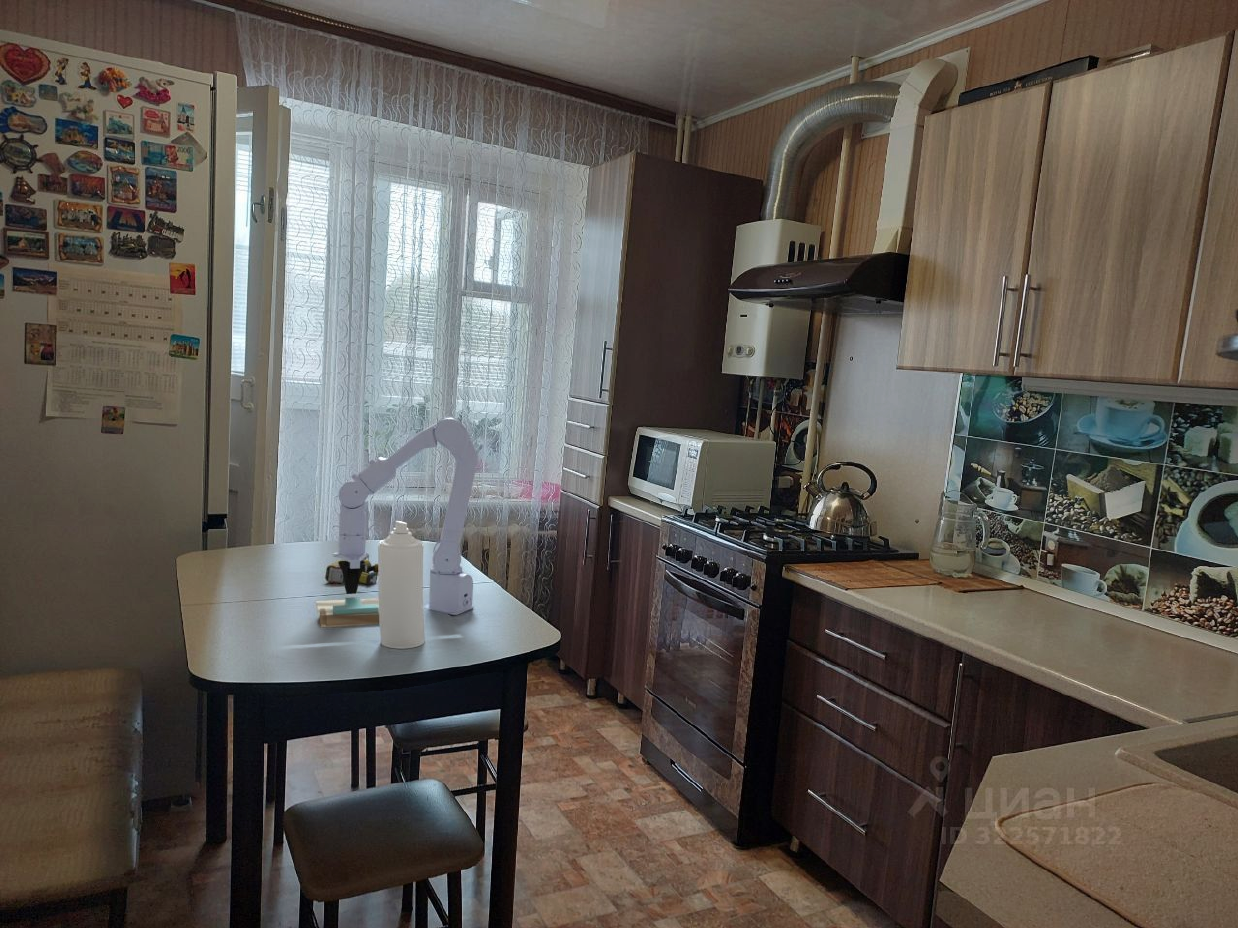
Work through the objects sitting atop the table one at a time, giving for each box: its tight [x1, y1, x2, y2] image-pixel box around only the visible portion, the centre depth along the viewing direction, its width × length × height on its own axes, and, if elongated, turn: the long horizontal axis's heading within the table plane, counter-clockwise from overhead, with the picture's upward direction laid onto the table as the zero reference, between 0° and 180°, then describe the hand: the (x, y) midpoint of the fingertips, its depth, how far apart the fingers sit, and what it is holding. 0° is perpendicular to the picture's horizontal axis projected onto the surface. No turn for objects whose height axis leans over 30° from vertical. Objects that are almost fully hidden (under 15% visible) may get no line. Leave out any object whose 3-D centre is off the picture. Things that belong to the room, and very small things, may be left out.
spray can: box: [377, 520, 426, 650], centre depth 161 cm, size 12×11×25 cm
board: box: [315, 597, 380, 628], centre depth 180 cm, size 20×14×3 cm
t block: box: [333, 596, 379, 615], centre depth 176 cm, size 9×9×3 cm
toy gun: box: [324, 552, 378, 587], centre depth 214 cm, size 5×24×15 cm
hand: (351, 592), depth 184 cm, fingers closed
